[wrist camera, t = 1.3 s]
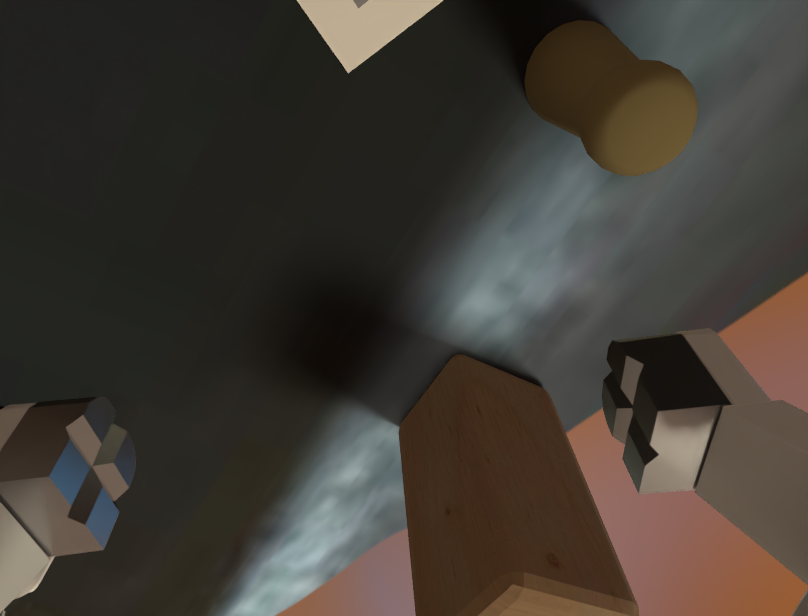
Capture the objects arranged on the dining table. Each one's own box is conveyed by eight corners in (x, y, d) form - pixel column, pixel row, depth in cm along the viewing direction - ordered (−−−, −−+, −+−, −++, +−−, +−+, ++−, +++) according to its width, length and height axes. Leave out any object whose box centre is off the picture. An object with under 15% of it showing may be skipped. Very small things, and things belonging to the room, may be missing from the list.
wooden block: (454, 345, 46) (513, 586, 29) (551, 386, 49) (652, 622, 33) (393, 425, 50) (414, 672, 34) (485, 457, 54) (545, 696, 37)
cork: (629, 14, 33) (735, 51, 24) (616, 119, 36) (705, 186, 27) (526, 25, 33) (592, 67, 24) (522, 130, 36) (580, 201, 27)
